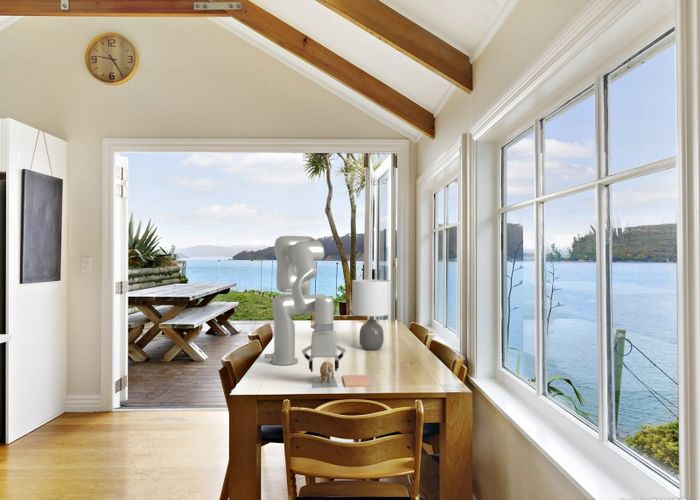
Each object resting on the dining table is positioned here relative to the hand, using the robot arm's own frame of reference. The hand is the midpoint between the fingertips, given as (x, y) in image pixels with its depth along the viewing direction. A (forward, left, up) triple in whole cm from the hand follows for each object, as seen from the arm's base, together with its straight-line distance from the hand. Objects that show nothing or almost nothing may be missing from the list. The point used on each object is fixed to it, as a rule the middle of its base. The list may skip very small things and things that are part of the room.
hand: (323, 370), depth 198 cm
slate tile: (0, 0, -6) cm, 6 cm away
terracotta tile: (+13, 0, -5) cm, 14 cm away
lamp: (+28, +67, -5) cm, 73 cm away
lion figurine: (+2, +1, -5) cm, 5 cm away
